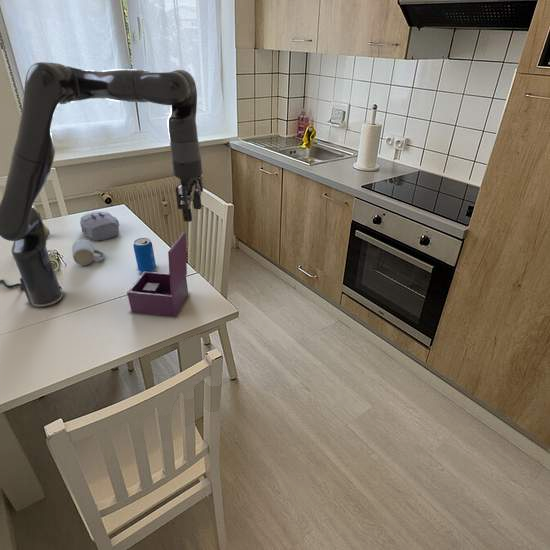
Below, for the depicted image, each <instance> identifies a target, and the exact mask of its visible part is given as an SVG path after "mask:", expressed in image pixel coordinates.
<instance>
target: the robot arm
mask: <svg viewBox="0 0 550 550" xmlns="http://www.w3.org/2000/svg"><path fill="white" fill-rule="evenodd" d="M24 80H25V81H24V88H23V100H22V107H21V108H22V109H21V113H20V119H19V124H18V129H17V134H16V138H15V142H14V145H13V149H12V153H11V157H10V163H9V168H8V172H7V176H6V182H5V188H4V192H3V195H2V198H1V201H0V237H1V238H2V239H3V240H6V241H9V242H13V244H12V247H11V251H10V252H11V254H12V257H13V259H14V262H15V264H16V267H17V270H18V272H19V275H20V277H19V281H20V283H15V284H10V285H8V284H7V283H6V282H5V280H4V279H1V280H0V283H1V284H2V285H3V286H4V287H5V288H9V289H10V288H16V287H20V289H21V291H23V292H24V294H25V297H26V299H27V301H28V304H31V305H32V306H33V307H36V308H46V307H51V306H53V305H55V304H57V303H58V302H60V301H61V300H62V299H63V298H64V293H63V288H62V286H61V285H60V282H59V280H58V277H57V273H56V271H55V268H54V266H53V265H54V264H53V262H52V259H51V257H50V254H49V251H48V248H47V237H46V236H45V232H44V228H43V225H42V222H41V219H42V218H41V219H40V216H41V215H40V216H39V214H38V212H39V211H38V210H37V209H36V208H35V207H34V203H35V201H36V199H37V197H38V196H39V194H40V192H41V191H42V189H43V187H44V186H45V184H46V183H47V181H48V178H49V176H50V173H51V170H52V166H53V164H54V159H55V156H56V155H55V154H56V151H55V145H54V140H53V137H52V133H51V132H52V131H51V127H52V121H53V119H54V115H55V112H56V109H57V107H58V105H68V104H70V103H74V102H79V101H85V100H93V99H94V100H96V99H97V100H99V99H102V100H110V101H115V102H125V103H152V104H157V105H162V106H170V114H169V116H168V119H167V129H168V130H167V131H168V137H169V138H168V139H169V152H170V157H171V158H170V159H171V165H172V174H173V176H174V177H175V178H178V179H179V180H180V182H179V186H175V195H176V203H177V209H178V210H181V212H182V218H183V221H184V222H189V223H191V222H192V221H193V215H192V208H191V207H193V209H194V210H201V209H202V207H203V206H202V198H201V196H202V193H203V192H204V187H203V186H204V185H203V179H202V174H203V167H202V166H203V165H202V156H201V155H202V154H201V147H200V143H199V138H198V137H199V136H198V126H197V119H196V118H197V110H198V109H197V108H198V107H197V106H198V90H197V85H196V80H195V79H194V77H193V76H192V74H191V73H190V72H188V70H187V71H186V70H184V69H176V70H173V71H166V72H165V71H164V72H150V70H143V69H109V70H89V69H87V70H86V69H81V68H76V67H72V66H68V65H65V64H62V63H57V62H45V61H41V62H39V61H38V62H35V63H33V64H32V65H31V66H30V67H29V69H28V70H27V72H26V76H25V79H24ZM36 210H37V211H38V212H37V211H36Z"/></svg>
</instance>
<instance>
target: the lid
mask: <svg viewBox="0 0 550 550" xmlns="http://www.w3.org/2000/svg"><path fill="white" fill-rule="evenodd" d="M167 257H168V271H169V272H168V273H169V274H170V291H171V295H172V296H173V295H174V294H175V292H176V290H177V289H178V287H179V286H180V284H181V282H182V281H183V279H184V278H185V276H186V277H187V274H188V266H187V265H188V264H187V262H188V261H187V234H186V232H184V231H183V232H182V233H181V234H180V236H179V237H178V238H177V240H176V241H174V243H173V244H172V246H171V247H170V249H169V250H168V251H167Z"/></svg>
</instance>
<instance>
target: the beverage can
mask: <svg viewBox="0 0 550 550" xmlns="http://www.w3.org/2000/svg"><path fill="white" fill-rule="evenodd" d="M132 247H133V252H134V255H135V260H136V261H135V262H136V265H137V270H138V271H139V272H140V273H141V274H142V273H143V272H144V271H147V272H155V270H156V269H157V265H156V257H155V253H154V247H153V242H152V241H151V239H150V238H148V237H139V238H136V239H134V241H133V246H132Z"/></svg>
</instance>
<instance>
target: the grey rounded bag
mask: <svg viewBox="0 0 550 550" xmlns="http://www.w3.org/2000/svg"><path fill="white" fill-rule="evenodd" d="M79 223H80V228H81V231H82V232H83V234H85V235H86V236H87V237H88V238H89V239H92V240H94V241H104V240H108V239H111V238H114V237H116V236H118V235H119V232H120V224H119V219H118V218H117V217H116V216H113V214H111V213H110V212H108V211H104V210H103V211H102V210H97V211H91V212H88V213H85V214H84V215H82V216H81V217H80V221H79Z"/></svg>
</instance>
